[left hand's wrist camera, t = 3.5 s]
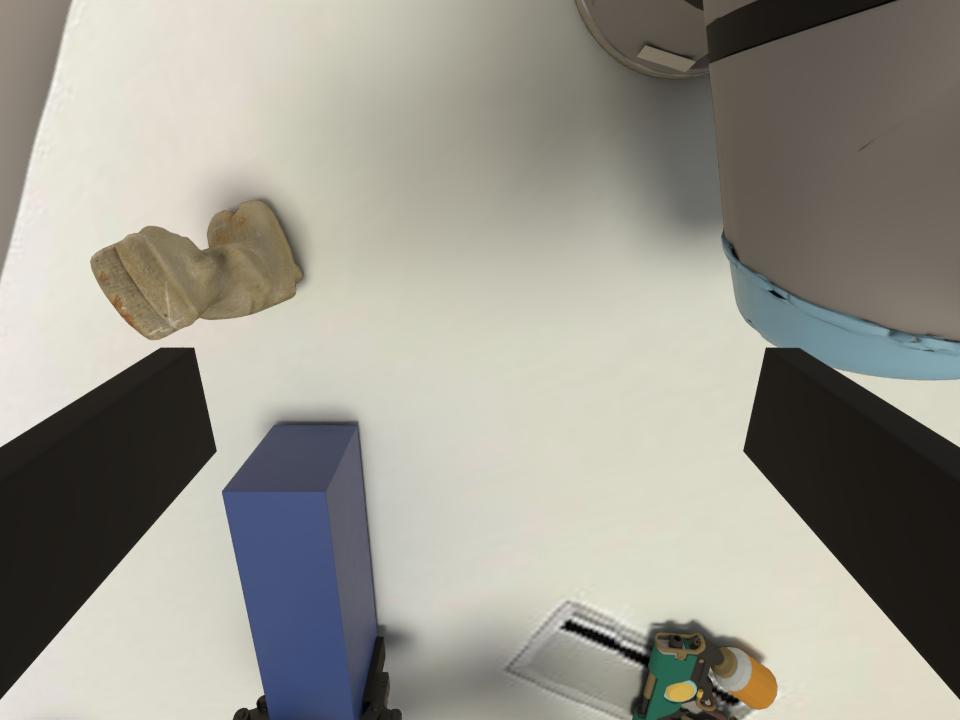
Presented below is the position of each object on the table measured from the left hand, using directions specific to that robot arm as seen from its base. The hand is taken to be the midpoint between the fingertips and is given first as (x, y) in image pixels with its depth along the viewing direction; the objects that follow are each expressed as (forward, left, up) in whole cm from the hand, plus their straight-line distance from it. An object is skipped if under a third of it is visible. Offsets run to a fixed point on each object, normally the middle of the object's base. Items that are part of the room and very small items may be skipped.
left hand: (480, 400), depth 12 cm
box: (+33, +3, -28) cm, 43 cm away
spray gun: (+30, +44, -29) cm, 60 cm away
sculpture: (+9, -13, -29) cm, 33 cm away
